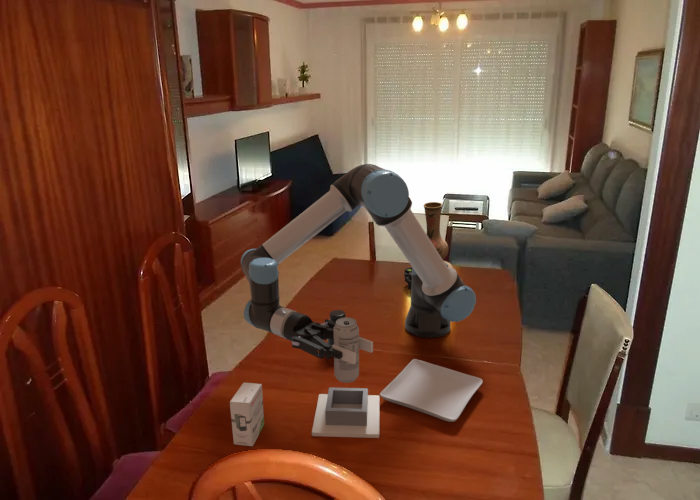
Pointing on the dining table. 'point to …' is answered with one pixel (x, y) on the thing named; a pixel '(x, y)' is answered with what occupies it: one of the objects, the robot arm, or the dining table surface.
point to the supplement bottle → (334, 317)
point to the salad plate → (432, 390)
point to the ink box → (247, 414)
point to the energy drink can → (348, 339)
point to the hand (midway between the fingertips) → (363, 352)
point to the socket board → (347, 414)
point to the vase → (432, 235)
